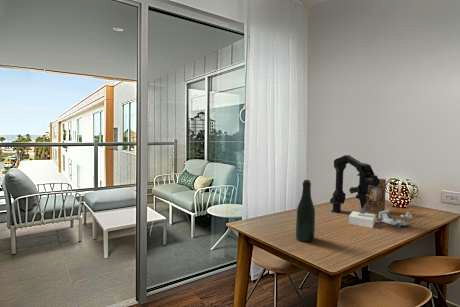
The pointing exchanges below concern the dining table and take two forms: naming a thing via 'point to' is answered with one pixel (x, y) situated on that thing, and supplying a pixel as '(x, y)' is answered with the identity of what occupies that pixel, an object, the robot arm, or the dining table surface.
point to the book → (376, 198)
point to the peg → (362, 209)
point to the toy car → (393, 219)
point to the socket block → (362, 219)
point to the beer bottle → (305, 215)
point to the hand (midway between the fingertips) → (362, 207)
